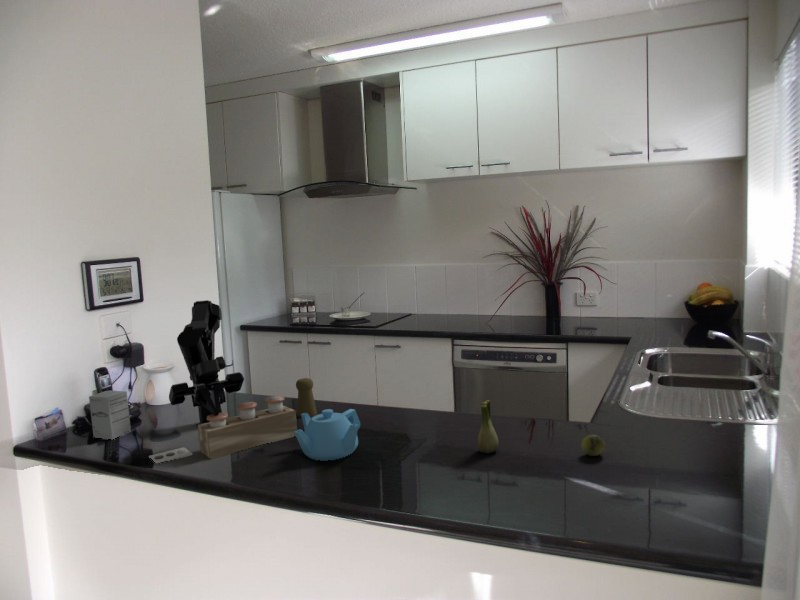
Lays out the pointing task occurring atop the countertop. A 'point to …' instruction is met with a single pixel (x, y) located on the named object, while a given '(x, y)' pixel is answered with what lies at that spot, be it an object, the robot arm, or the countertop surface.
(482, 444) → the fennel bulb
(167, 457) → the pattern card
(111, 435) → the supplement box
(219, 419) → the button
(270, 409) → the button
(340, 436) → the teapot
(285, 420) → the button box
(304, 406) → the cork
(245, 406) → the middle button
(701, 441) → the countertop surface
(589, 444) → the lime
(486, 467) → the countertop surface
